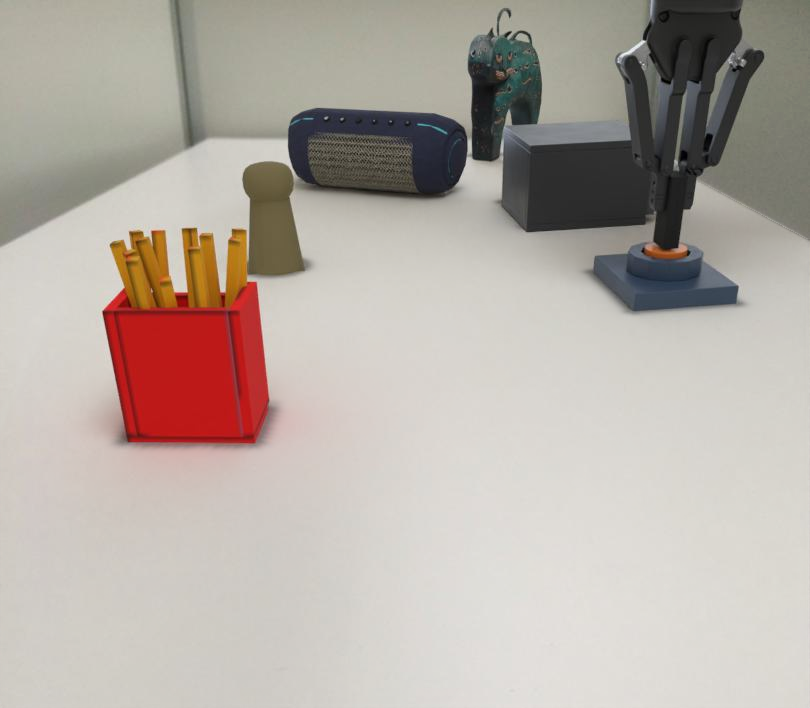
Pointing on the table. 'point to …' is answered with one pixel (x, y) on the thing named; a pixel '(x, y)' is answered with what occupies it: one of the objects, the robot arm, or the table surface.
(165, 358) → the french fries container
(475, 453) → the table surface
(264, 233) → the cork
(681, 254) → the button
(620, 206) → the grey box
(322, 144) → the portable speaker
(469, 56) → the green animal figurine
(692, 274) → the control block
